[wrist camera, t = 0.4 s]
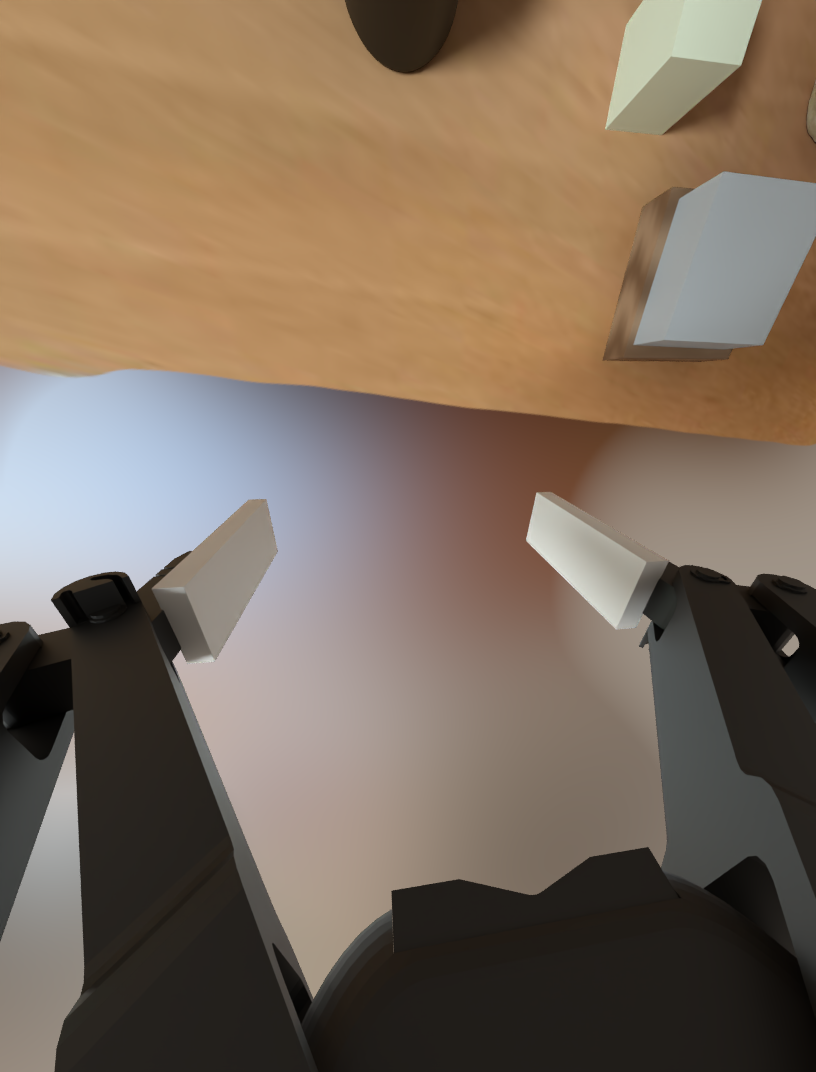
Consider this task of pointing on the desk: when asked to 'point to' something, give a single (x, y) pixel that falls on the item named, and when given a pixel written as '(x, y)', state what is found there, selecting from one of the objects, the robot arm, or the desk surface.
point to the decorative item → (812, 114)
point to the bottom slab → (649, 288)
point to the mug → (402, 29)
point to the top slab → (729, 262)
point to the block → (676, 59)
